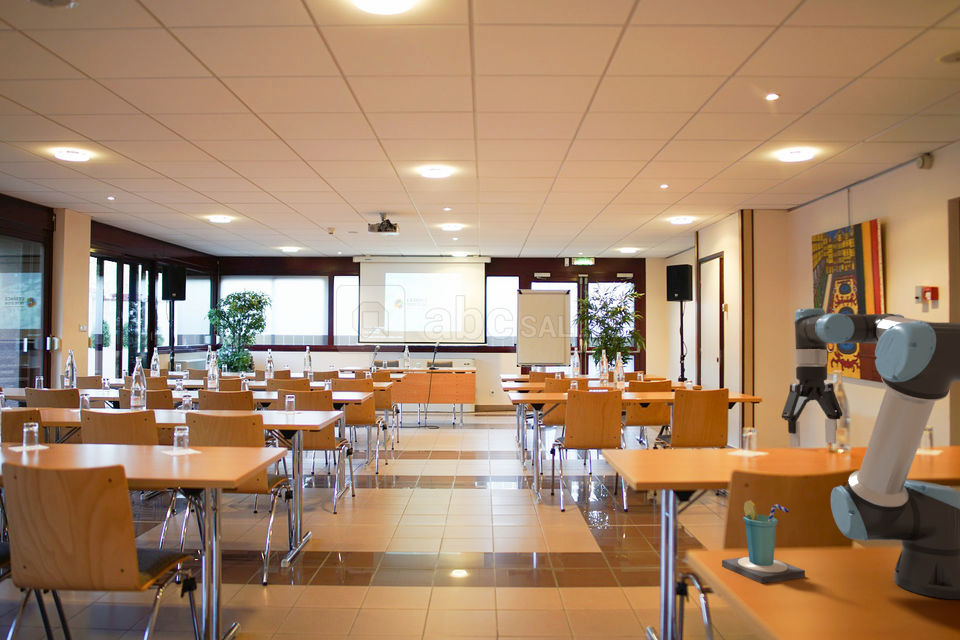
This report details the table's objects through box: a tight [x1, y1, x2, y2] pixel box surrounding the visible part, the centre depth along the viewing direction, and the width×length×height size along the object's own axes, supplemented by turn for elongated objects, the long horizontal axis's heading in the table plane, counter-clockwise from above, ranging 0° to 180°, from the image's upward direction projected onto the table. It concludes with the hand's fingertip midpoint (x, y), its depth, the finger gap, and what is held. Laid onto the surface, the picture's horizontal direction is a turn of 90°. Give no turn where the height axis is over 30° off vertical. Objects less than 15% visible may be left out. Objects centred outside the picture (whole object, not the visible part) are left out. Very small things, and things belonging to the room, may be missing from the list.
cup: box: [743, 500, 789, 566], centre depth 158 cm, size 14×8×15 cm, turn 26°
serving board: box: [721, 556, 806, 584], centre depth 157 cm, size 13×13×2 cm
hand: (813, 444), depth 175 cm, fingers open, 13 cm apart
